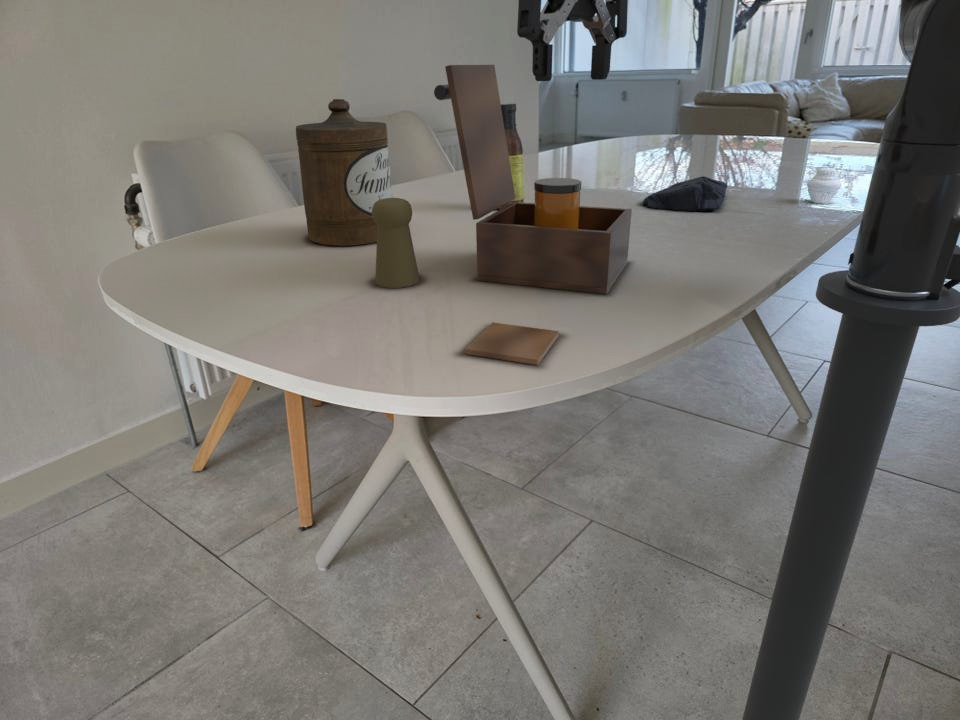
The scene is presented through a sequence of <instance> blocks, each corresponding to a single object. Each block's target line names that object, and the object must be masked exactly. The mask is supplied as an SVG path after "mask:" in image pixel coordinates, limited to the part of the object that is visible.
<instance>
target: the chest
mask: <svg viewBox="0 0 960 720" xmlns="http://www.w3.org/2000/svg"><path fill="white" fill-rule="evenodd" d="M632 210H633V209H632V208H621V207H620V208H619V207H603V206H602V207H601V206H588V205H587V206H586V205H580V209H579V229H569V228H556V227H542V226H534V212H535V202H524V203H521V202H512V203H511V204H509V205H507V206H506V207H504V208H502V209H498V210H497V211H495V212H494V213H492V214H490V215H488V216H486V217H484V218H483V219H480V220H479V221H477V222H476V223H475V235H476V236H475V237H476V241H475V242H476V279H477V281H478V282H479V281H481V282H489V283H499V284H506V285H516V286H525V287H526V286H527V287H535V288H545V289H554V290H556V289H557V290H563V291H573V292H581V293H590V294H600V295H608V292H609V291H610V290H611V288H612V286H613V285H614V284H615V282H616V281H617V279H618V278H619V276H620V275H621V273H622V272H623V270H624V268H625V267H626V265H627V264H628V260H629V259H628V257H629V246H630V235H631V234H630V233H631V223H632Z"/></svg>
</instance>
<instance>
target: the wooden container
mask: <svg viewBox="0 0 960 720" xmlns="http://www.w3.org/2000/svg"><path fill="white" fill-rule="evenodd" d="M327 108H328V110H329V111H330V112H331V113H330V114H329V116H328V117H327V118H326V119H325V120H324V121H322V122H313V123H312V122H311V123H305V124H298V125H295V138H296V143H297V148H298V149H297V153H298V159H299V168H300V178H301V189H302V190H301V191H302V199H303V205H304V214H305V219H306V220H305V221H306V228H307V235H308V239H309V240H310V241H311V242H313V243H315V244H319V245H324V246H332V247H351V246H362V245H369V244H374V243H377V227H378V226H377V224H376V223H375V222H374V220H373V217H372V207H373V205H374V203H375V202H376V201H378V200H381V199H385V198H394V197H393V186H392V173H391V163H390V154H389V153H390V152H389V145H388V144H389V143H388V142H389V140H388V137H389V136H388V128H387V123H385V122H381V121H361V120H358V119H356V118H355V117H354V116H353V115H352V114H351V113H350V112H349V111H350V108H351V107H350V102H349V101H347V100H345V99H344V98H333V99H332V101H330V102H329V103H328V105H327Z"/></svg>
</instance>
